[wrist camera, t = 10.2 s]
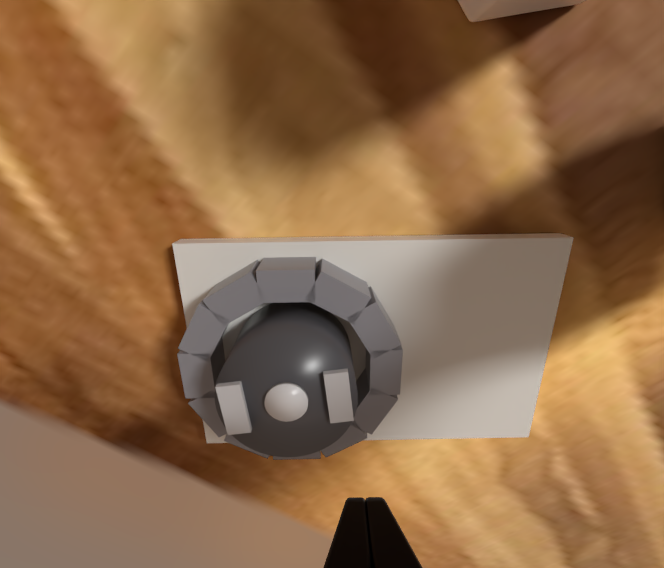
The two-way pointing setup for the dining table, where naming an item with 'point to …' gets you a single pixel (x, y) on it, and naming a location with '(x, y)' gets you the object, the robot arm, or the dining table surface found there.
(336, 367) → the cap
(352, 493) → the dining table surface
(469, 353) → the plate
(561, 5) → the jar
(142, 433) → the dining table surface
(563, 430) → the dining table surface
